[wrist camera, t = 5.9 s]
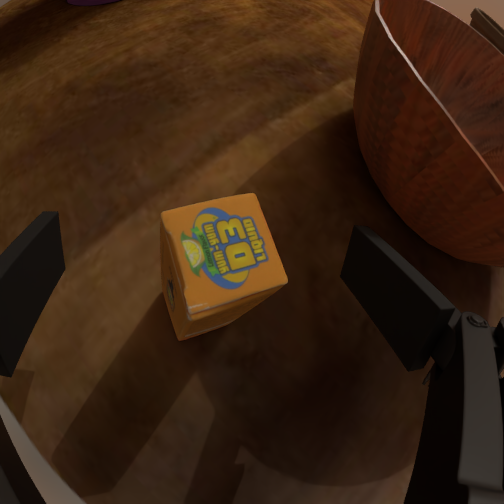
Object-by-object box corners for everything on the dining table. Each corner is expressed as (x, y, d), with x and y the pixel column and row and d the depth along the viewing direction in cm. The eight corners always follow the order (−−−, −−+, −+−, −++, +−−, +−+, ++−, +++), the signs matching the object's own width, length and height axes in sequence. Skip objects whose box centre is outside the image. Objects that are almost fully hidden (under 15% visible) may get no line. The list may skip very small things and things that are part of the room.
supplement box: (235, 324, 18) (296, 290, 9) (178, 341, 17) (176, 328, 8) (217, 270, 19) (257, 185, 10) (160, 285, 18) (144, 211, 9)
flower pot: (469, 44, 45) (493, 17, 36) (500, 84, 42) (528, 56, 33) (440, 32, 42) (466, -1, 32) (475, 74, 39) (506, 41, 30)
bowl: (316, 43, 29) (357, -39, 18) (482, 129, 32) (535, 82, 22) (294, 266, 20) (408, 173, 10) (515, 317, 24) (604, 290, 13)
